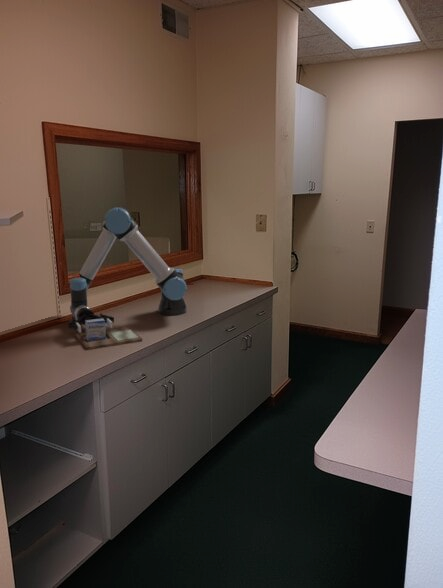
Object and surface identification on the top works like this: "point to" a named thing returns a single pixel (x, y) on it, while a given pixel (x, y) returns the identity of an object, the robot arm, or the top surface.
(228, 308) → the top surface
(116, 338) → the pocket board
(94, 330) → the medicine box
